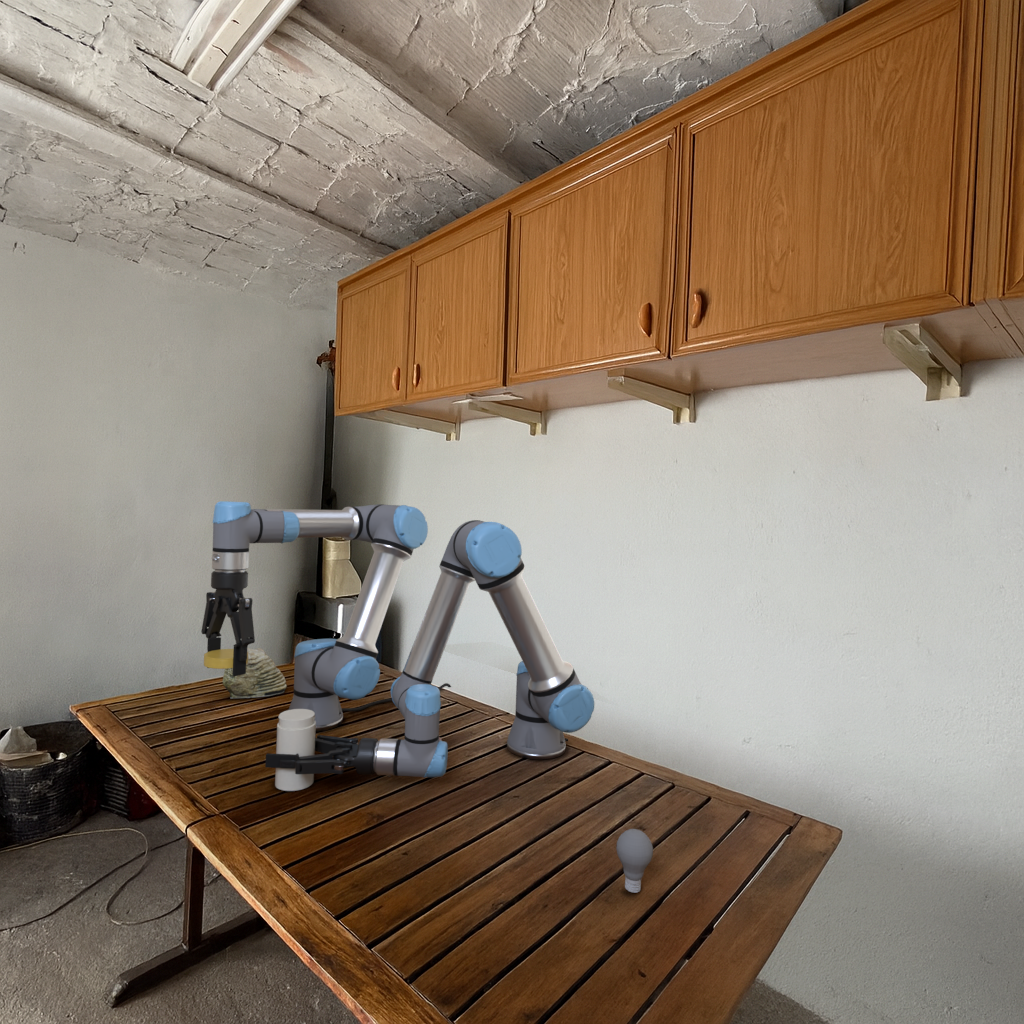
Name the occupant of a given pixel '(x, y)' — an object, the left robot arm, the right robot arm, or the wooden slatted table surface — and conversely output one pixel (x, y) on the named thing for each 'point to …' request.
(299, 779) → the jar
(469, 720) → the wooden slatted table surface
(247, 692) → the fossil
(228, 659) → the lid
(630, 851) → the light bulb
